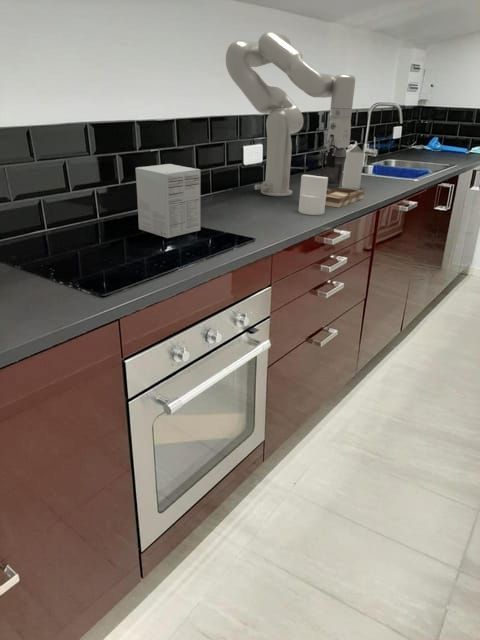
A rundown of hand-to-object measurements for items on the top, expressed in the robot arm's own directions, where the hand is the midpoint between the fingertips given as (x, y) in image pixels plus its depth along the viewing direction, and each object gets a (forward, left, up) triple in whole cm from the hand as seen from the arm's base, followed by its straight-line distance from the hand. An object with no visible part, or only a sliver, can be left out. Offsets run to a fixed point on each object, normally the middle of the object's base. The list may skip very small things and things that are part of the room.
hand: (335, 165), depth 181 cm
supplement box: (-71, -13, -14) cm, 73 cm away
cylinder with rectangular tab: (-17, -10, -14) cm, 24 cm away
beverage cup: (0, 0, -9) cm, 9 cm away
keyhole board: (+4, +2, -13) cm, 14 cm away
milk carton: (+28, +21, -14) cm, 38 cm away
